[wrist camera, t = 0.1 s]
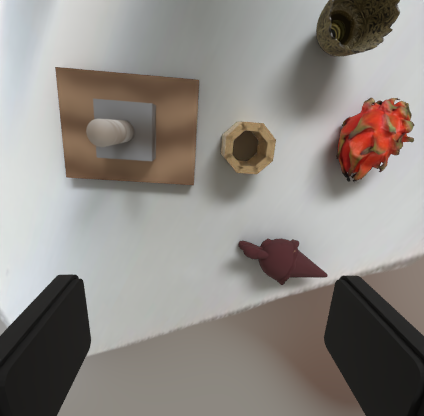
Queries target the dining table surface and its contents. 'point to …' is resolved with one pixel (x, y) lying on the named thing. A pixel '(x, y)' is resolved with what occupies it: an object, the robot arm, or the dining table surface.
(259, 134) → the hub
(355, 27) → the cup
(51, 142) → the dining table surface
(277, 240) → the icecream
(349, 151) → the dragon fruit
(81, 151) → the shaft stand
